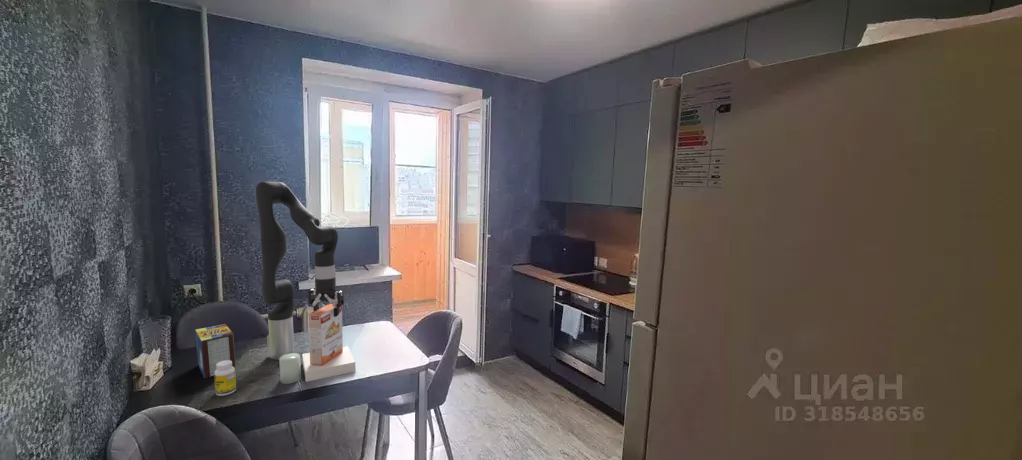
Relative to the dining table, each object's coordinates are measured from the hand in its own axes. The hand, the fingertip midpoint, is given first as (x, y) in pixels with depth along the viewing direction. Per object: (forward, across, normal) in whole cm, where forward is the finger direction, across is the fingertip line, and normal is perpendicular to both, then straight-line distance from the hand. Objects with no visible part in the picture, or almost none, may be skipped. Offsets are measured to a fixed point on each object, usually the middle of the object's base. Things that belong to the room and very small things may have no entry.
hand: (326, 315), depth 165 cm
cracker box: (+18, 0, 0) cm, 18 cm away
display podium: (+22, 0, 0) cm, 22 cm away
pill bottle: (+22, -24, -25) cm, 41 cm away
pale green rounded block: (+22, -8, -12) cm, 26 cm away
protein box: (+22, -43, -10) cm, 50 cm away
